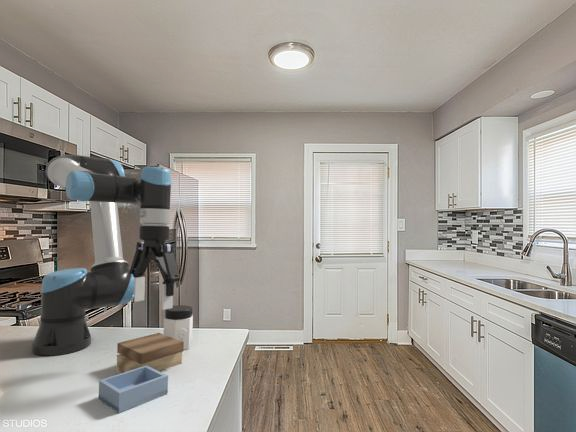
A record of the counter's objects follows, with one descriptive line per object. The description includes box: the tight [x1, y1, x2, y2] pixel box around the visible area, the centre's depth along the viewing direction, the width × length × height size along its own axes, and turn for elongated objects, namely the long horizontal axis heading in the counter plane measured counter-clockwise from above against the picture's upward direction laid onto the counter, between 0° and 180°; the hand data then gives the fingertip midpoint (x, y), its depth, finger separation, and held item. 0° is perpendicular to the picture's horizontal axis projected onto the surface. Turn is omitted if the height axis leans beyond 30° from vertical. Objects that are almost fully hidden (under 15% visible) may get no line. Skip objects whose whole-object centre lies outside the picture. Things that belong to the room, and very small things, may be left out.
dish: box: [98, 365, 169, 414], centre depth 78 cm, size 9×11×4 cm
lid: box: [116, 332, 185, 364], centre depth 94 cm, size 12×12×2 cm
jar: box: [162, 304, 194, 351], centre depth 110 cm, size 9×8×12 cm
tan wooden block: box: [116, 351, 183, 374], centre depth 94 cm, size 8×14×4 cm, turn 142°
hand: (152, 304), depth 95 cm, fingers open, 13 cm apart
